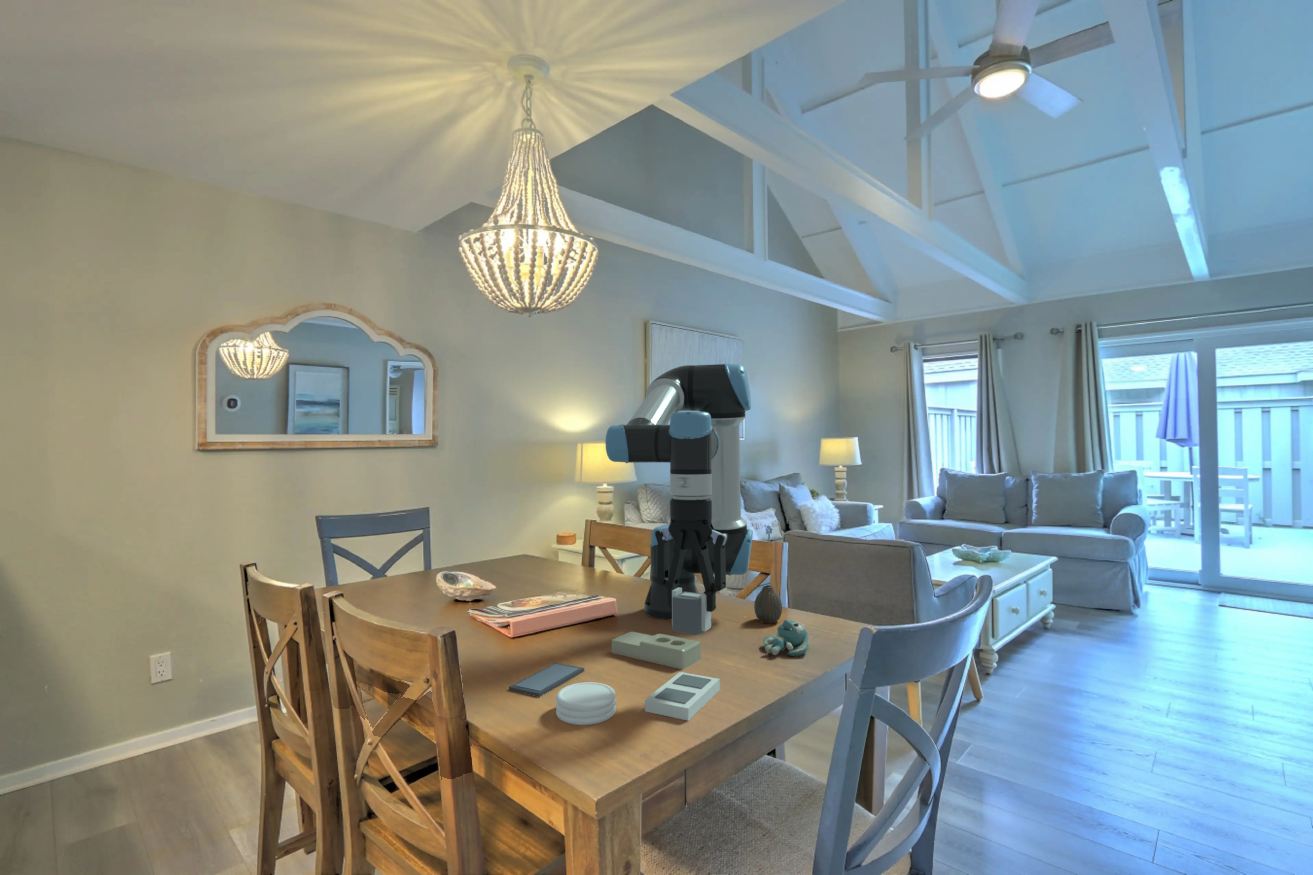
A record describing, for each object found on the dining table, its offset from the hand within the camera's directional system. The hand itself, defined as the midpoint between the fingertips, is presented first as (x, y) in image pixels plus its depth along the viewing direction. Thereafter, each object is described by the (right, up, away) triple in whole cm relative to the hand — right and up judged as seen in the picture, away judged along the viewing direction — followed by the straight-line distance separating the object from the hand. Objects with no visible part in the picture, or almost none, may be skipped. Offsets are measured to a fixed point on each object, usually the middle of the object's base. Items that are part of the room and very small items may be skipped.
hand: (691, 626), depth 113 cm
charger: (0, 0, 0) cm, 0 cm away
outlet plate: (-2, -12, -3) cm, 12 cm away
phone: (-27, -13, +7) cm, 30 cm away
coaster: (-18, -12, -8) cm, 23 cm away
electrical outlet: (-6, -13, +20) cm, 24 cm away
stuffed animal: (+22, -12, +23) cm, 34 cm away
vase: (+22, -12, +45) cm, 51 cm away
